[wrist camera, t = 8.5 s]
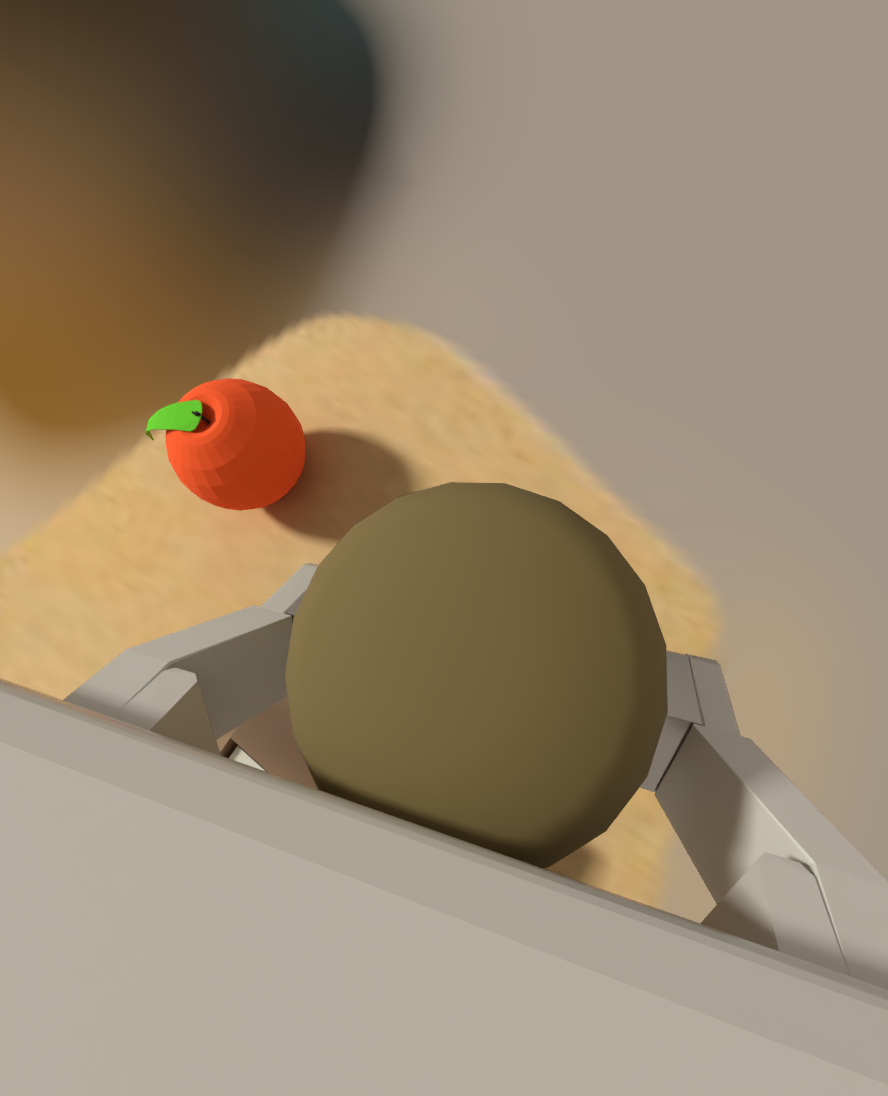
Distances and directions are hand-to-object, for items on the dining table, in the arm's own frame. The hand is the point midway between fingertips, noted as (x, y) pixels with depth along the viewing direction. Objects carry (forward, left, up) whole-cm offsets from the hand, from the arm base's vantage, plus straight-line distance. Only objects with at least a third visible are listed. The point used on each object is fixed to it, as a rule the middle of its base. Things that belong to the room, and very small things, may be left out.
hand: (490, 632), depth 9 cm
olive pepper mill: (-1, 0, -7) cm, 7 cm away
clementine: (+1, +18, -15) cm, 24 cm away
